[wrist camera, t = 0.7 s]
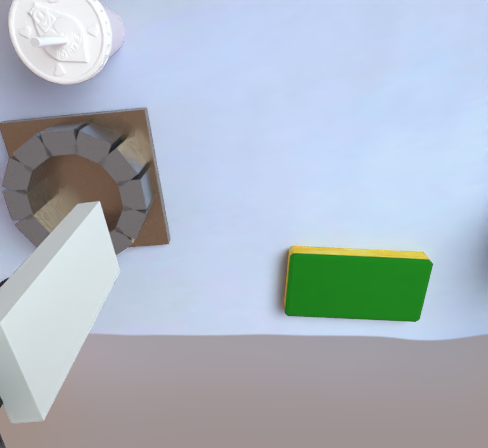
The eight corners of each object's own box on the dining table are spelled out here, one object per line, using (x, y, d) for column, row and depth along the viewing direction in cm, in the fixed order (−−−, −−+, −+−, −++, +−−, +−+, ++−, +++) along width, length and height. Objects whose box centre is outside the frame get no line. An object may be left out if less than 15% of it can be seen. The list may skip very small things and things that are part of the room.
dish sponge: (411, 309, 49) (419, 322, 47) (283, 302, 49) (284, 316, 47) (425, 250, 46) (434, 261, 44) (288, 243, 46) (290, 254, 44)
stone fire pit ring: (4, 121, 41) (-24, 132, 37) (146, 107, 40) (134, 117, 36) (43, 249, 46) (23, 271, 42) (170, 239, 45) (162, 260, 41)
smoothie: (108, 87, 39) (39, 118, 27) (48, 29, 38) (-57, 31, 25) (157, 32, 38) (109, 37, 25) (97, -32, 36) (11, -63, 23)
